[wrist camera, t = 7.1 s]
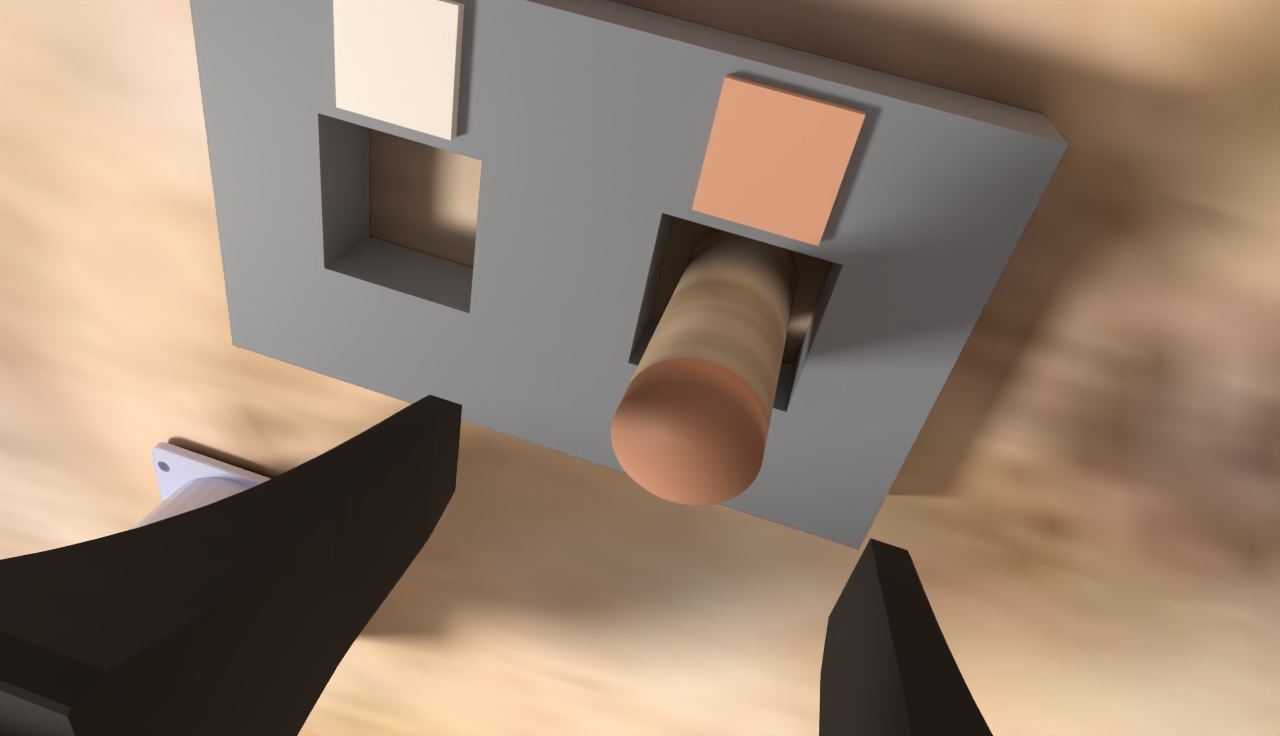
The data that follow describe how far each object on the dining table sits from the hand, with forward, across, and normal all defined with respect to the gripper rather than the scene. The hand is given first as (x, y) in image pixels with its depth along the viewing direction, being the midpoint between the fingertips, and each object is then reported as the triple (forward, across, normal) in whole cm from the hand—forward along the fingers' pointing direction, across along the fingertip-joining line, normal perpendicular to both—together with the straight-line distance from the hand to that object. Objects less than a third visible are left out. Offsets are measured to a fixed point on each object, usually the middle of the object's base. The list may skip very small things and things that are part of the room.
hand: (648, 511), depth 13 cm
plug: (+10, 0, 0) cm, 10 cm away
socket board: (+10, +4, 0) cm, 11 cm away
